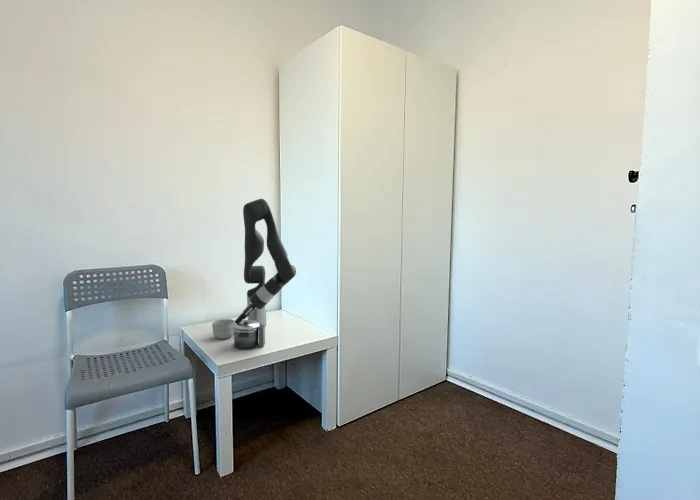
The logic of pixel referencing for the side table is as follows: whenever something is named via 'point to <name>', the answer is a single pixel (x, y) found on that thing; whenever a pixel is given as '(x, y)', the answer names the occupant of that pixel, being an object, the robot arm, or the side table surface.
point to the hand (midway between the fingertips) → (236, 322)
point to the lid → (246, 325)
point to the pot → (249, 338)
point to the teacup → (223, 328)
